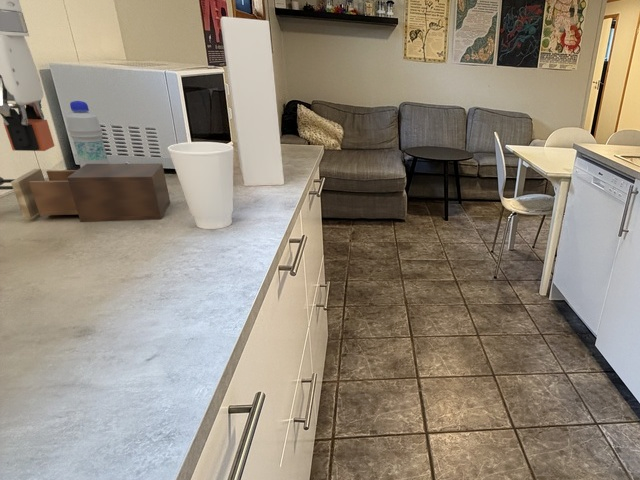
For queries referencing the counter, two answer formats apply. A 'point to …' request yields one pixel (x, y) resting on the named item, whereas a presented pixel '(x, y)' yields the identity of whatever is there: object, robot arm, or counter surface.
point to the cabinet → (119, 192)
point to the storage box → (253, 99)
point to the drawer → (43, 193)
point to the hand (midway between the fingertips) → (33, 146)
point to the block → (38, 134)
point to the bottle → (86, 135)
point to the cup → (206, 181)
